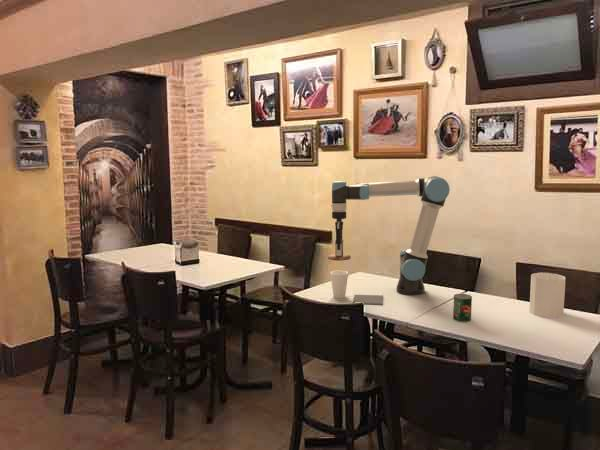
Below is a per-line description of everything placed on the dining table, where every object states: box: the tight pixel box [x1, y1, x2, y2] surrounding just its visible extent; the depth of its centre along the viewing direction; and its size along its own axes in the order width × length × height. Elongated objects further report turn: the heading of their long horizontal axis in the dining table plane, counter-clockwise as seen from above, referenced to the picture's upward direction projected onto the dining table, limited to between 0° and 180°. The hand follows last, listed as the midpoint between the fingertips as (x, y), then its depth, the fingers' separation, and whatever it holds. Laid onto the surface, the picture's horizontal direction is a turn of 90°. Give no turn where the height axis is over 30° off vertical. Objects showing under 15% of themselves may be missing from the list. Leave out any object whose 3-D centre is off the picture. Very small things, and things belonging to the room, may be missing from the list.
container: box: [529, 272, 566, 319], centre depth 238 cm, size 14×14×18 cm
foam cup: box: [329, 270, 349, 299], centre depth 271 cm, size 10×9×13 cm
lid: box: [327, 239, 351, 262], centre depth 269 cm, size 12×12×10 cm
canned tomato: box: [452, 293, 473, 323], centre depth 232 cm, size 8×8×11 cm
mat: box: [352, 294, 384, 306], centre depth 264 cm, size 15×15×1 cm
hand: (339, 254), depth 269 cm, fingers closed on lid, 4 cm apart
